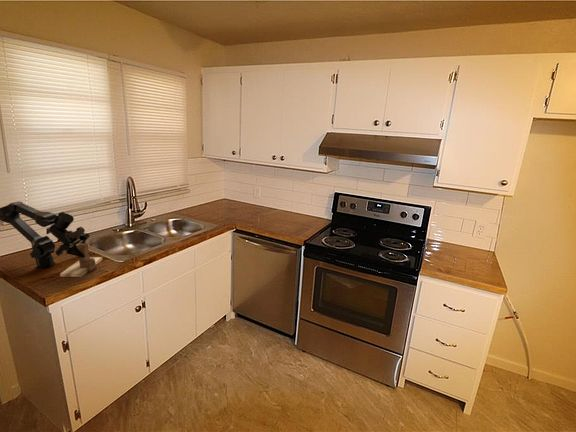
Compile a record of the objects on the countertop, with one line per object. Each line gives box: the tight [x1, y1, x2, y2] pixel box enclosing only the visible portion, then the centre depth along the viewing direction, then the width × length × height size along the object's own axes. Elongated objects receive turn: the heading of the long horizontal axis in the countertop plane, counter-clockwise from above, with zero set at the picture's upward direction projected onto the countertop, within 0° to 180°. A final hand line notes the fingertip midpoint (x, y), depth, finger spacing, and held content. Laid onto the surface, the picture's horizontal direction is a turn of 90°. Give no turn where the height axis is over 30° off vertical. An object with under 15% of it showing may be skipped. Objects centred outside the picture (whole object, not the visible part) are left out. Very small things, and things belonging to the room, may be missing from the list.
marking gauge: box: [77, 243, 97, 272], centre depth 159 cm, size 6×5×14 cm
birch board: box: [59, 256, 103, 278], centre depth 163 cm, size 10×20×2 cm, turn 3°
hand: (86, 255), depth 159 cm, fingers closed on marking gauge, 4 cm apart
